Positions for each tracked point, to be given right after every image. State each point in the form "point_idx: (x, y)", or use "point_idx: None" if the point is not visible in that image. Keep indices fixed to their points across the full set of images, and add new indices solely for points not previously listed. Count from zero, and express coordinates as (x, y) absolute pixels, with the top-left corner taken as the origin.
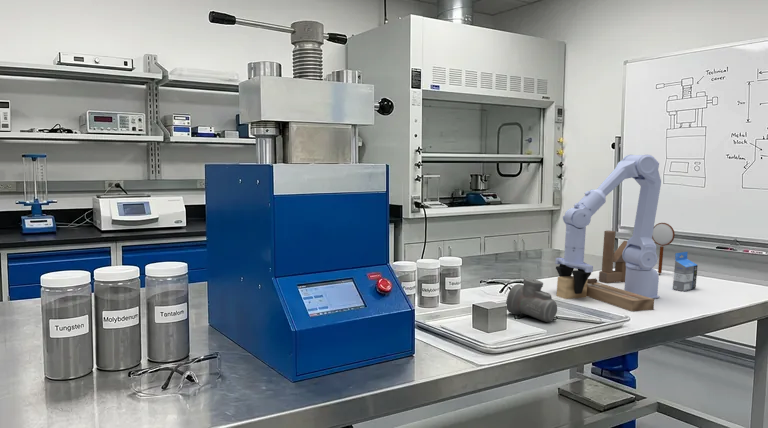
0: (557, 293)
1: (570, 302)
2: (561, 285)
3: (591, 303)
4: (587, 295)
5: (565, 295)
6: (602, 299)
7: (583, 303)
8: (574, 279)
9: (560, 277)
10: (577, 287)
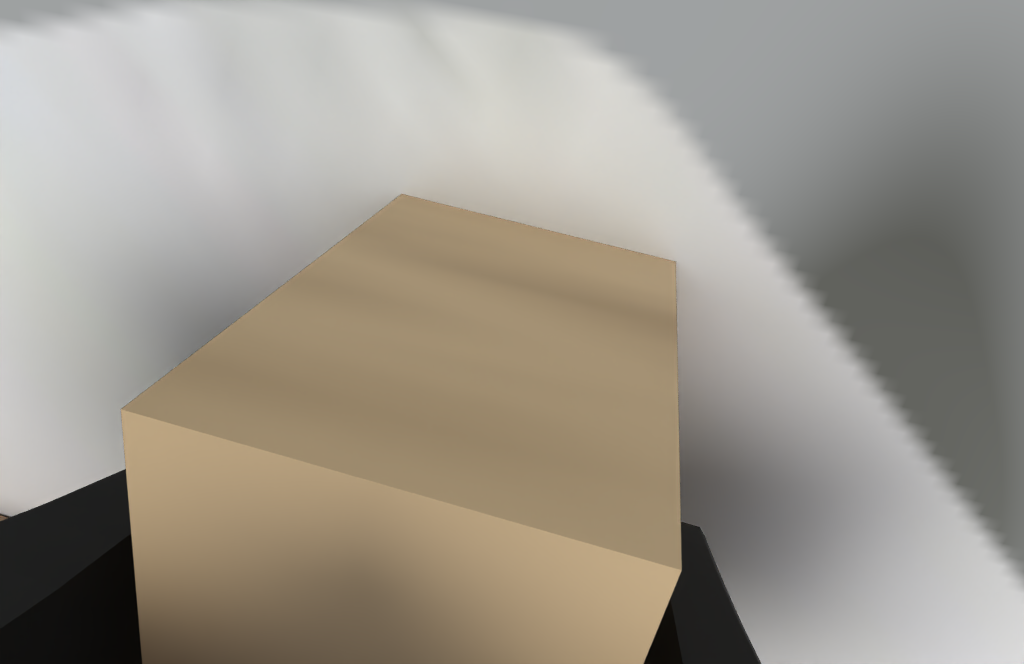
0: (648, 276)
1: (136, 27)
2: (480, 344)
3: (22, 323)
4: None
5: (374, 215)
6: None
7: (36, 202)
8: (19, 594)
9: (525, 550)
10: None
